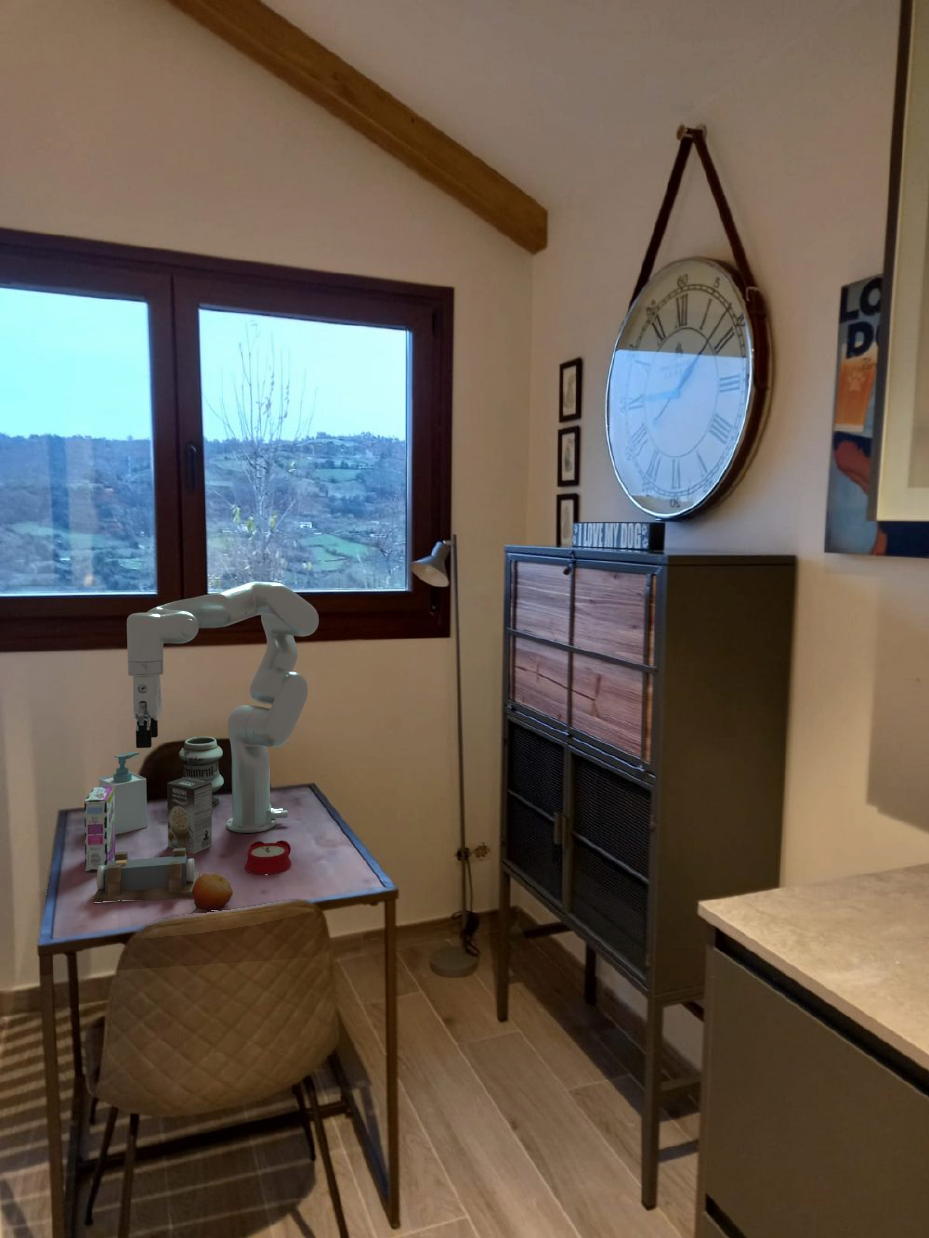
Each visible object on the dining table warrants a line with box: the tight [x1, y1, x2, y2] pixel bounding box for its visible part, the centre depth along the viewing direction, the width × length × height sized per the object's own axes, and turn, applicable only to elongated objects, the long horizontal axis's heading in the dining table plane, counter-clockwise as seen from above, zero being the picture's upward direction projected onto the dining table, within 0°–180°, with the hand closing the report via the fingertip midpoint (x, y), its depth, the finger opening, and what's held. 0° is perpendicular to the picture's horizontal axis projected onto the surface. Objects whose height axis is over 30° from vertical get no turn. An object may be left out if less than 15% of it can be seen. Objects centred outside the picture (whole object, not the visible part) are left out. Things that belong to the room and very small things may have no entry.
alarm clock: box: [244, 839, 292, 875], centre depth 198 cm, size 10×6×15 cm
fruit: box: [192, 872, 233, 913], centre depth 174 cm, size 8×8×8 cm
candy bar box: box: [83, 786, 116, 873], centre depth 196 cm, size 11×5×16 cm, turn 13°
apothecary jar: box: [178, 736, 224, 807], centre depth 240 cm, size 12×12×18 cm
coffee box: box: [166, 776, 213, 855], centre depth 207 cm, size 9×6×16 cm
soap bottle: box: [98, 751, 148, 836], centre depth 219 cm, size 9×9×19 cm
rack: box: [92, 848, 201, 903], centre depth 182 cm, size 20×10×7 cm, turn 102°
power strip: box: [96, 854, 195, 893], centre depth 182 cm, size 19×5×6 cm, turn 105°
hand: (147, 742), depth 194 cm, fingers open, 9 cm apart
